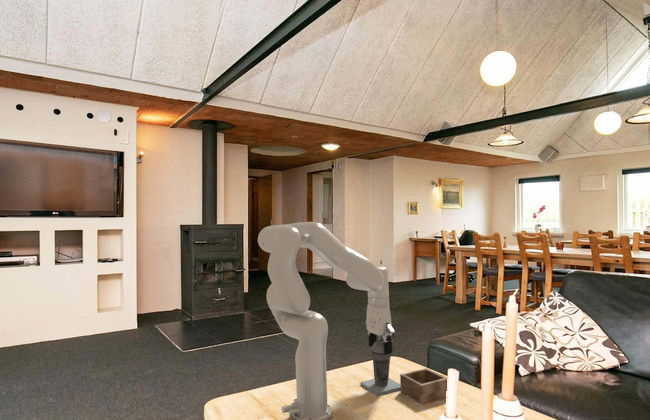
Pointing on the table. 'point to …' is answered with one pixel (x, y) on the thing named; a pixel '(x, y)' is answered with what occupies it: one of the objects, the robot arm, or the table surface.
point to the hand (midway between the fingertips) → (380, 349)
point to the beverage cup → (380, 363)
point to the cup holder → (423, 385)
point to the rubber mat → (381, 387)
